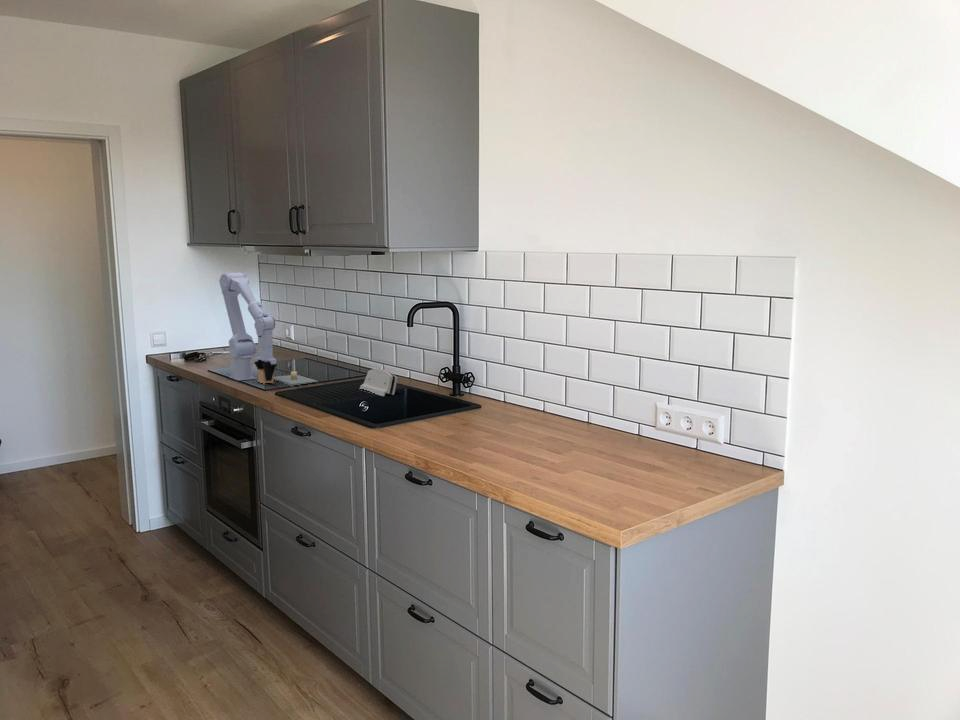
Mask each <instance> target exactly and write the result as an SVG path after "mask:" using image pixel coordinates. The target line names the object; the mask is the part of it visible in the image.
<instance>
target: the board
mask: <svg viewBox="0 0 960 720" xmlns="http://www.w3.org/2000/svg"><path fill="white" fill-rule="evenodd" d="M274 380H275V381H274V382H276V381H279V382H282V383H284V384H283V385H286V384H287V385H286V386H289V385H290V386H289V387H295V386H294V385H299V386H301V385H300V384H306V383H312V382H318V383H319V380H316V379H314V378H313V379H312V378H310V377H306V376H302V375H300V374H299V375H298V371H294V370H293V371H291V372H290V374H289V375H280V376H274ZM279 382H278V383H279ZM282 383H281V384H282Z"/></svg>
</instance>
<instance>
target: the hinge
mask: <svg viewBox="0 0 960 720" xmlns="http://www.w3.org/2000/svg"><path fill="white" fill-rule="evenodd" d="M397 384H398V377H397V376H396V375H395V374H393V373H392V372H390V371H388V370H386V369H381V368H374V369H369V370H368V371H367V374H366V376H365V379H364V381H363V383H362V384H360V387H359V390H360V389H364V390H367V391H370V392H372V393H371V394H373V393H375V394H374V395H378V396H381V397H385V396H386V394H387V395H392V396H394V395H395V392H396V387H397ZM370 392H369V393H370Z"/></svg>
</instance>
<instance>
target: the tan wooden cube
mask: <svg viewBox="0 0 960 720" xmlns="http://www.w3.org/2000/svg"><path fill="white" fill-rule="evenodd" d="M274 377H275V371H274V372H273V376H272V380H270V381H266V378H265V371H264V369H257V383H258V382H260V383H263V384H262V385H265V384H264V383H272V384H274V383H275V381H274ZM273 382H274V383H273ZM260 383H259V384H260Z"/></svg>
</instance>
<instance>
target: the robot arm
mask: <svg viewBox="0 0 960 720" xmlns="http://www.w3.org/2000/svg"><path fill="white" fill-rule="evenodd" d="M249 281H250V279H249V278H248V275H247V274H246V273H245V272H223V273H222V274H221V275H220V278H219V285H220V289H221V294H222V295H223V299H224V300H223V301H224V304H225V309H226V312H227V316H228V321H229V325H230V329H231V332H232V337H231V338H230V339H229V340H228V345H229V347H228V351H229V354H230V356H231V357H232V359H231V361H230V375H229V376H228V378H229V379H232V380H236V381H239V382H241V381H247V380H249V381H250V380H256V379H257V377H256V376H253V358H254V360H256V361H254V365H255V367H256V369H257V370H258V369H264V371H265V378H266V381H270V380H272V376H273V372H274V373H275V369H276V368H277V365H278V364H277V359H276V358H275V357H274V355H273V354H274V352H273V349H274V348H273V345H274V344H273V342H274V341H273V340H274V339H273V330H275V328H276V320H275V317H274V316H272V315H270V314H269V313H267V311H266V309H265V308H264V306H263V304H262V302H261V301H257V300H256V298H255V295H254V293H253V292H252V289H251V288H250V285H249V283H250V282H249ZM239 295H241V297H242V298H243V300H244V301H245V302H246V303H247V310H248V312H249V313H250V315H251V317H252V319H253V320H254V324H253V326H254V328H255V332H256V336H257V345H256V343H255V342H254V339H253V336H251V335H250V334H249V333H247V331H246V330H247V329H246V327H245V322H244V319H243V314H242V310H241V307H240V302H239V299H238V296H239ZM256 353H257V354H256Z"/></svg>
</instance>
